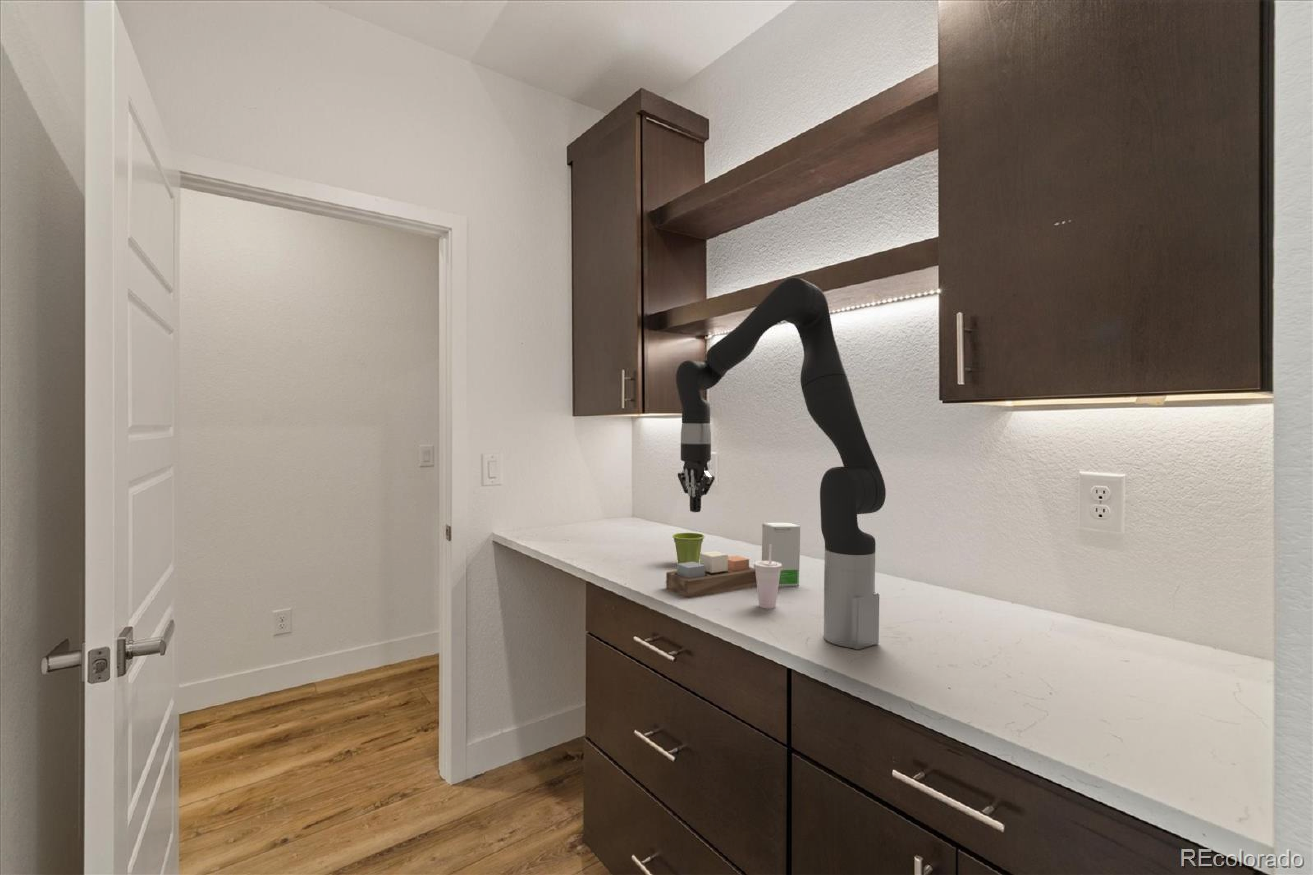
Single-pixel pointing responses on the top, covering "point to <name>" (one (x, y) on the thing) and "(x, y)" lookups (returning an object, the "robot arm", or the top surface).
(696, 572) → the key slate
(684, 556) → the plant pot
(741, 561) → the key rust
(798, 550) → the skincare box
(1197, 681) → the top surface
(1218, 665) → the top surface
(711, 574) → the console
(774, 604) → the smoothie
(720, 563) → the key cream
